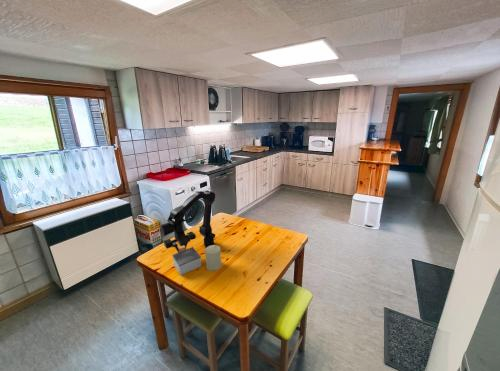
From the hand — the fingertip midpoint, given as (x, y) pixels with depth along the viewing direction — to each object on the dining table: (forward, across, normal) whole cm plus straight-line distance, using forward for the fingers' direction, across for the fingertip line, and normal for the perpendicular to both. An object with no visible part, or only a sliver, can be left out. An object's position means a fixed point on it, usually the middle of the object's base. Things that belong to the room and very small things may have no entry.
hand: (181, 251), depth 138 cm
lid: (0, 0, -6) cm, 6 cm away
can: (+6, +13, -19) cm, 23 cm away
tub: (+6, 0, -8) cm, 10 cm away
